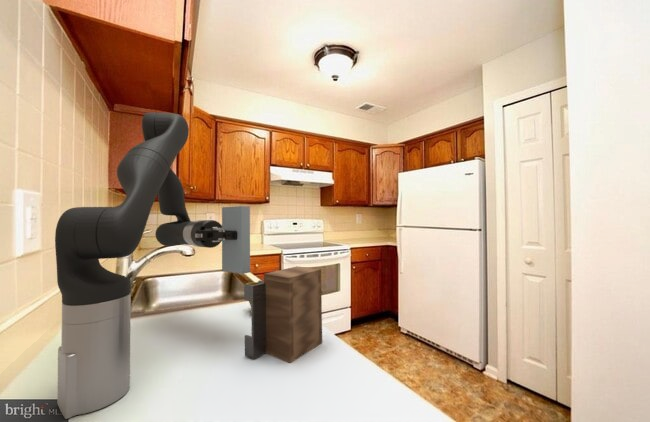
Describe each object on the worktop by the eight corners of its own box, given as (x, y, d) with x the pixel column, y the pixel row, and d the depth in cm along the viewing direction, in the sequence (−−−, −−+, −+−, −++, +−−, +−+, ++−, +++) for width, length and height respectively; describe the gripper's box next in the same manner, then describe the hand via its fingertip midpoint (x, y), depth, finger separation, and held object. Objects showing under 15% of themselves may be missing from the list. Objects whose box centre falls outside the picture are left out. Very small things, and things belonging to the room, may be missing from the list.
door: (241, 274, 63) (241, 206, 64) (222, 270, 68) (221, 207, 68) (250, 272, 65) (249, 206, 65) (230, 269, 70) (230, 207, 70)
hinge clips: (253, 360, 58) (253, 286, 59) (244, 355, 60) (244, 284, 61) (269, 351, 62) (268, 281, 63) (260, 347, 64) (260, 280, 64)
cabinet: (289, 363, 57) (288, 277, 57) (264, 352, 62) (263, 273, 62) (322, 342, 66) (321, 269, 67) (298, 334, 71) (297, 266, 71)
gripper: (177, 220, 70) (215, 219, 60) (225, 219, 81) (263, 219, 71) (177, 249, 70) (215, 253, 60) (225, 244, 81) (263, 247, 71)
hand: (241, 235), depth 65 cm, fingers closed on door, 2 cm apart
